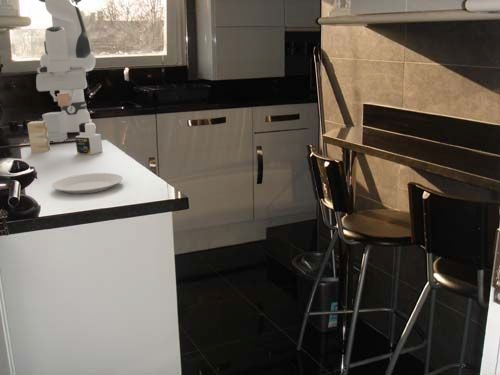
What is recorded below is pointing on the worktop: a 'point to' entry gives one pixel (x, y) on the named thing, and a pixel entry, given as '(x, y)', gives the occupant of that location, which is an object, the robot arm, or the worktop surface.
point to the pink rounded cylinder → (63, 99)
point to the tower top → (37, 127)
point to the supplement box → (55, 126)
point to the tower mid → (38, 137)
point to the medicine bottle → (88, 139)
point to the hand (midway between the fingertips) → (64, 100)
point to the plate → (87, 183)
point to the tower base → (40, 147)
